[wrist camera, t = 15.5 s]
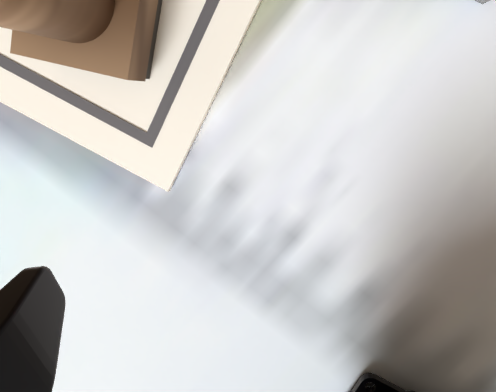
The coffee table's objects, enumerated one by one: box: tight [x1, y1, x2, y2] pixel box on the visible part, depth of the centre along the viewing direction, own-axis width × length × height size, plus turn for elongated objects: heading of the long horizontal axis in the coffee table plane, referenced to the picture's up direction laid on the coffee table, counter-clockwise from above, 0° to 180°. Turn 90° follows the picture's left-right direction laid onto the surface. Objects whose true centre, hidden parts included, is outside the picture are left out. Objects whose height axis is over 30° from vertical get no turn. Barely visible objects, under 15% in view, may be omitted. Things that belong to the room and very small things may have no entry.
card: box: [0, 0, 262, 191], centre depth 20 cm, size 12×12×1 cm
